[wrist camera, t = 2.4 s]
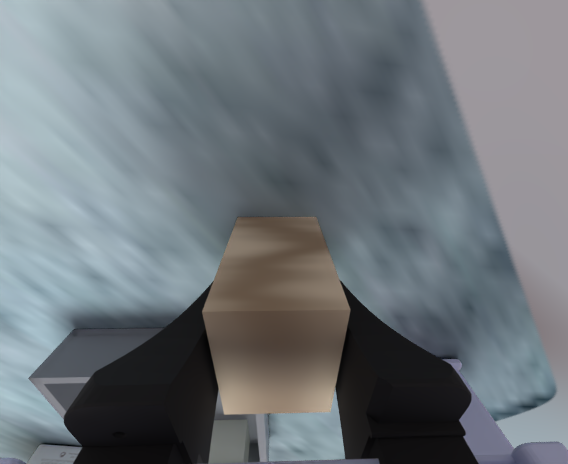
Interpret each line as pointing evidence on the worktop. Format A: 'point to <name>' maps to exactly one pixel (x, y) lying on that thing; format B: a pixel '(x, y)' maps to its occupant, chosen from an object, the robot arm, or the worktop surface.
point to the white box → (229, 442)
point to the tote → (102, 351)
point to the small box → (54, 454)
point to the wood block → (276, 318)
